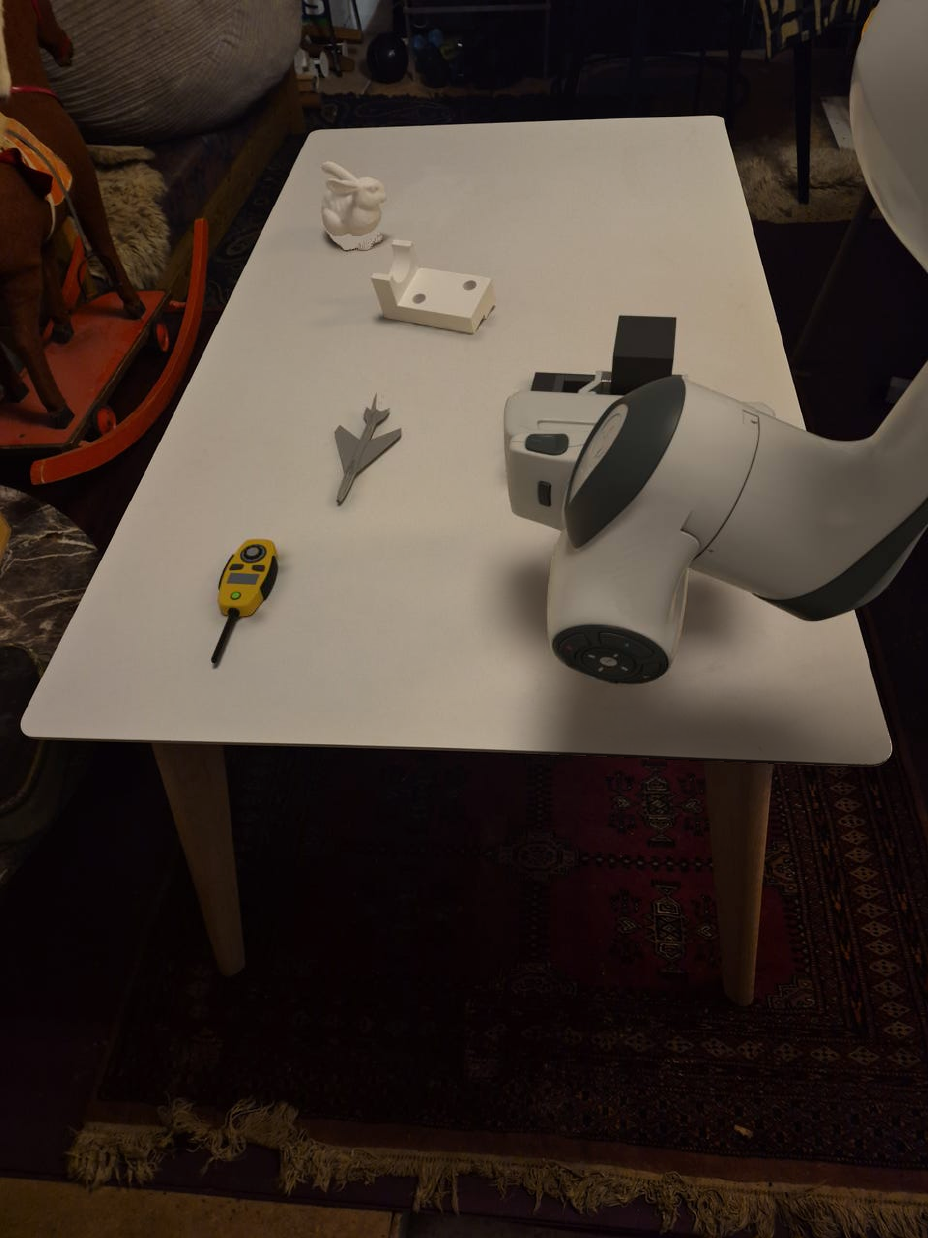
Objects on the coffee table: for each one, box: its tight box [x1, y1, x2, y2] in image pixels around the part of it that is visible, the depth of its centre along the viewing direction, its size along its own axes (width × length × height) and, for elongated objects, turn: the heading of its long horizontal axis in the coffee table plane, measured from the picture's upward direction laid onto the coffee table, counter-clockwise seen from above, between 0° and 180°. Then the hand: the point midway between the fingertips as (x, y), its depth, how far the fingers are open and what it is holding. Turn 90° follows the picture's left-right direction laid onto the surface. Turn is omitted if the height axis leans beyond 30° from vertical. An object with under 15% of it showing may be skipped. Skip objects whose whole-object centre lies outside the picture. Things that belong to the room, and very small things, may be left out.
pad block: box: [610, 314, 677, 396], centre depth 70 cm, size 4×6×10 cm
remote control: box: [210, 538, 279, 664], centre depth 79 cm, size 5×2×15 cm
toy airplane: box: [334, 389, 402, 504], centre depth 94 cm, size 8×21×2 cm, turn 169°
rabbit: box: [320, 160, 388, 252], centre depth 124 cm, size 12×9×12 cm
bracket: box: [370, 238, 497, 335], centre depth 110 cm, size 13×7×8 cm, turn 65°
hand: (640, 379), depth 70 cm, fingers closed on pad block, 4 cm apart
